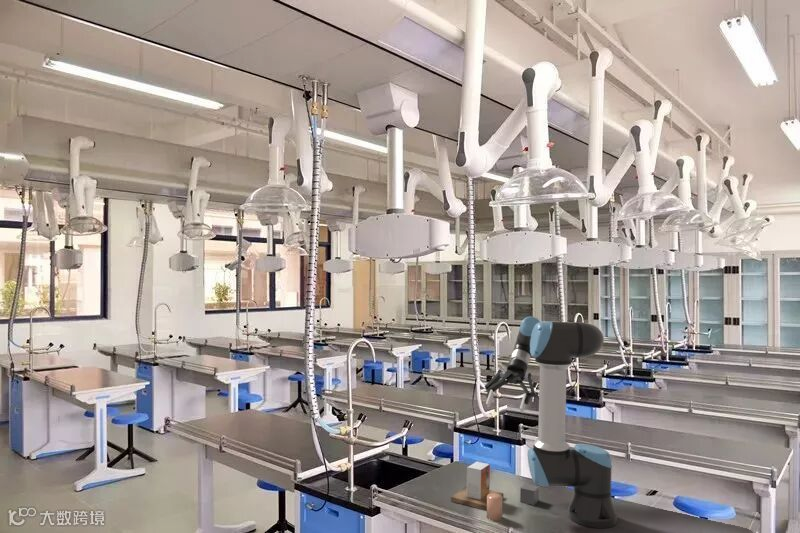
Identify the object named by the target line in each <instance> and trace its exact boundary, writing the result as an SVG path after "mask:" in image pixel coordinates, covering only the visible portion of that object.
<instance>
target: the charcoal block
mask: <svg viewBox="0 0 800 533" xmlns="http://www.w3.org/2000/svg"><path fill="white" fill-rule="evenodd" d="M539 490H540V486H539V485H532V484H527V483H525V484H523V485H522V486H521V487H520V495H519V496H520V497H519V498H520V499H519V500H520V503H523V504H526V503H527V504H526V505H530V504H531V506H536V504H537V503H539V501H540V500H539V498H540V495H539V494H540V491H539Z"/></svg>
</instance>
